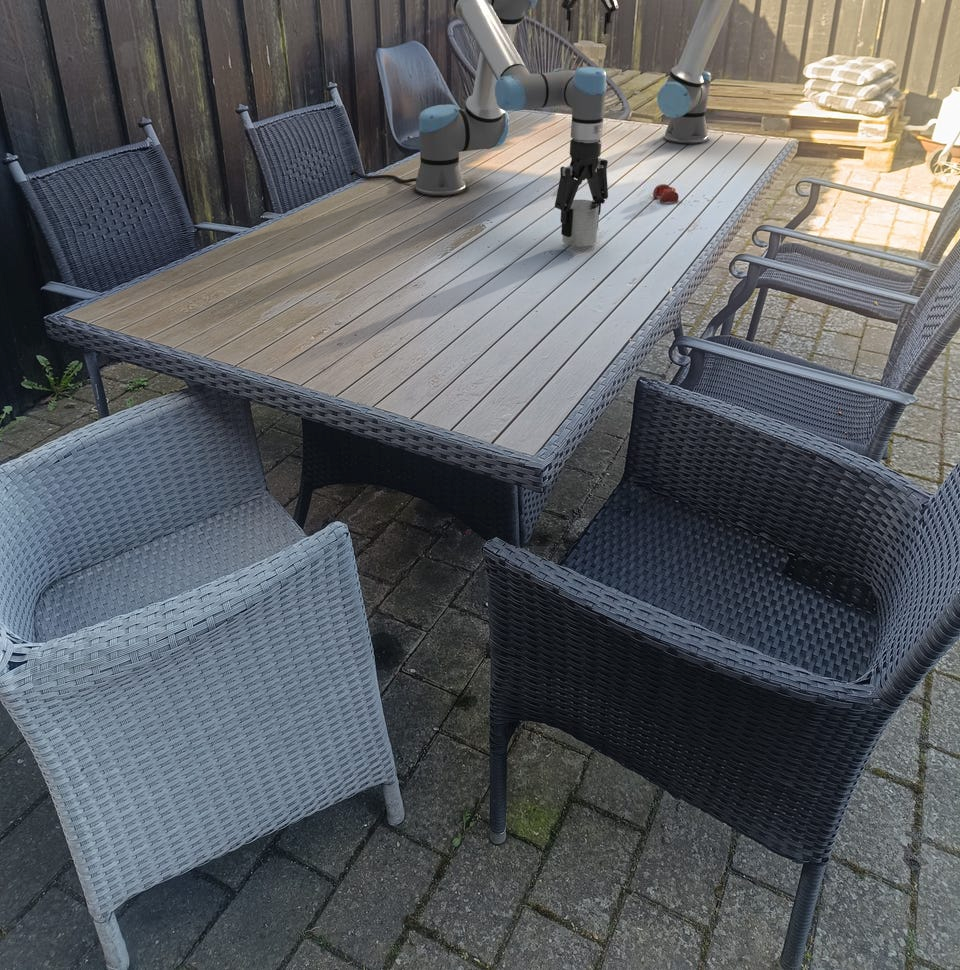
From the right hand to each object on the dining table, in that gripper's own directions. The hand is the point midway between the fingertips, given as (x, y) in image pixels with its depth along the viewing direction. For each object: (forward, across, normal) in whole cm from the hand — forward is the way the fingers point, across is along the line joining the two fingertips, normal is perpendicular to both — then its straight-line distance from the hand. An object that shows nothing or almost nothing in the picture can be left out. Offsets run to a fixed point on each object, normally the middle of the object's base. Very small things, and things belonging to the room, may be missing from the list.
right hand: (588, 32), depth 295 cm
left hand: (+30, +47, -110) cm, 124 cm away
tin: (+32, +47, -110) cm, 124 cm away
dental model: (+34, +54, -61) cm, 88 cm away
